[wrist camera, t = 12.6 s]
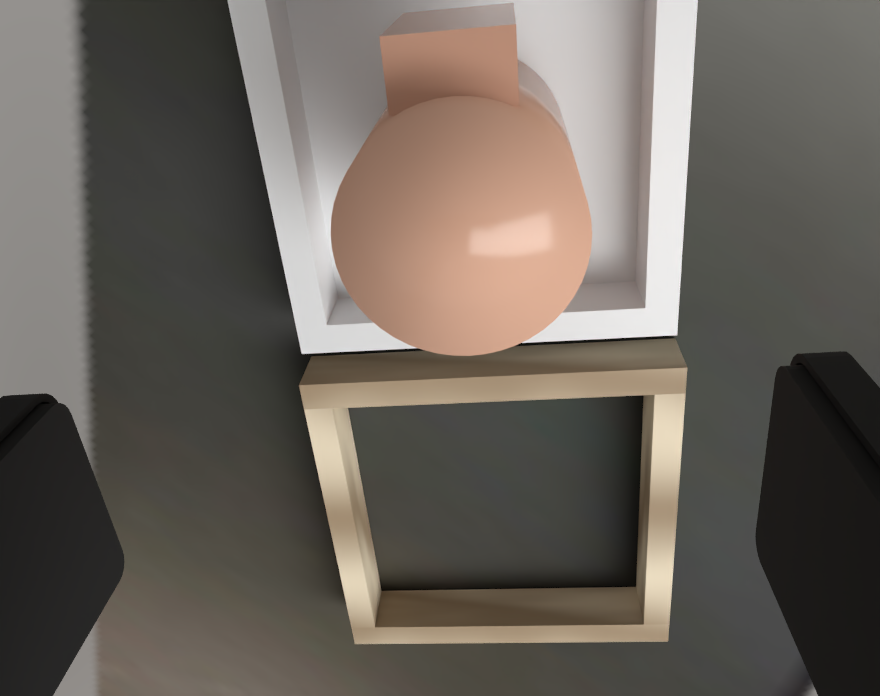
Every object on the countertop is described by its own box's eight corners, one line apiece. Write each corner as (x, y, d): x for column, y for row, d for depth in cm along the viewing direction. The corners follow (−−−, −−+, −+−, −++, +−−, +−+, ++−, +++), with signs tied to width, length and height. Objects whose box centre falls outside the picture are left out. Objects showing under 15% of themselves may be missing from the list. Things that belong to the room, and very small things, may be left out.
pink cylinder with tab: (566, 226, 24) (591, 350, 17) (393, 237, 25) (351, 361, 18) (563, -11, 21) (593, 25, 14) (364, 8, 22) (297, 52, 15)
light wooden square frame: (659, 603, 33) (667, 641, 31) (362, 607, 34) (355, 644, 33) (674, 338, 27) (687, 367, 25) (311, 356, 28) (298, 385, 26)
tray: (662, 300, 26) (677, 335, 24) (317, 319, 27) (301, 354, 25) (682, -110, 20) (704, -113, 18) (244, -61, 21) (215, -59, 19)
